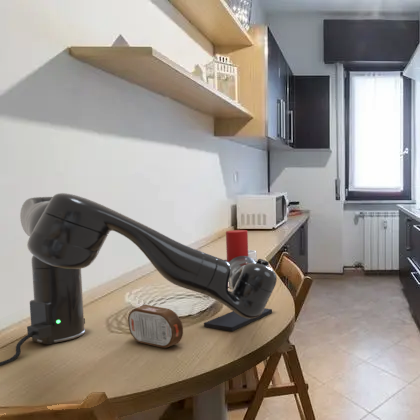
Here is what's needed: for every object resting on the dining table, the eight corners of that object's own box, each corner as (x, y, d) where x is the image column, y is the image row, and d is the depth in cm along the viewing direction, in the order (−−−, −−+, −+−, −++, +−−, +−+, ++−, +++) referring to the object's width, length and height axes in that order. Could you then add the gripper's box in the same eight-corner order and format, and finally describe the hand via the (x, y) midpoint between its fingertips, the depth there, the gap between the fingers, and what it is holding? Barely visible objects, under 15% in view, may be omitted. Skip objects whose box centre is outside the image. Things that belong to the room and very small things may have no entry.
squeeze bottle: (234, 229, 116) (236, 284, 116) (221, 231, 110) (223, 289, 111) (251, 230, 114) (253, 286, 115) (238, 232, 109) (240, 290, 110)
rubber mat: (232, 331, 104) (232, 327, 104) (203, 326, 108) (203, 322, 107) (272, 312, 119) (272, 309, 119) (246, 309, 122) (246, 305, 122)
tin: (184, 346, 94) (183, 309, 94) (172, 352, 92) (171, 313, 91) (138, 337, 101) (137, 302, 100) (126, 341, 98) (124, 305, 97)
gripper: (211, 293, 96) (208, 279, 112) (275, 287, 102) (264, 274, 117) (210, 260, 96) (207, 250, 111) (274, 256, 101) (264, 246, 117)
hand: (237, 262), depth 114 cm, fingers closed on squeeze bottle, 5 cm apart
